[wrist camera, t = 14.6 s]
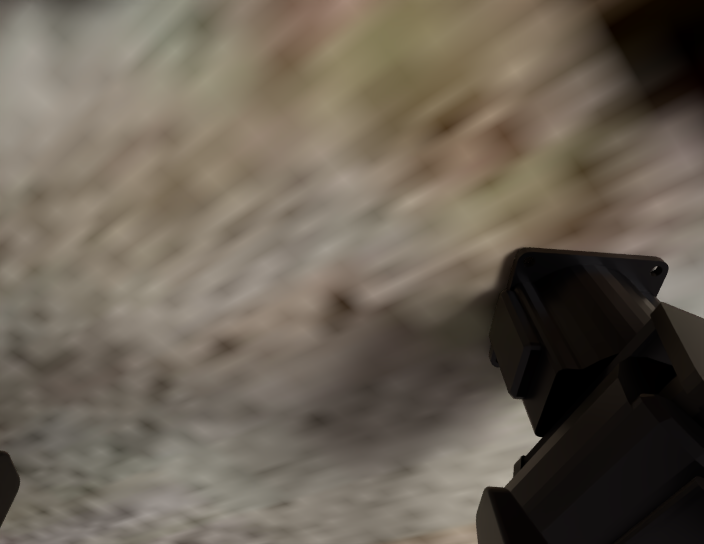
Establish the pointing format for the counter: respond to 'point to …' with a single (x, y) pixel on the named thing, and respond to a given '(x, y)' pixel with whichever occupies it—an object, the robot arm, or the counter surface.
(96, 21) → the counter surface
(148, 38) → the counter surface
